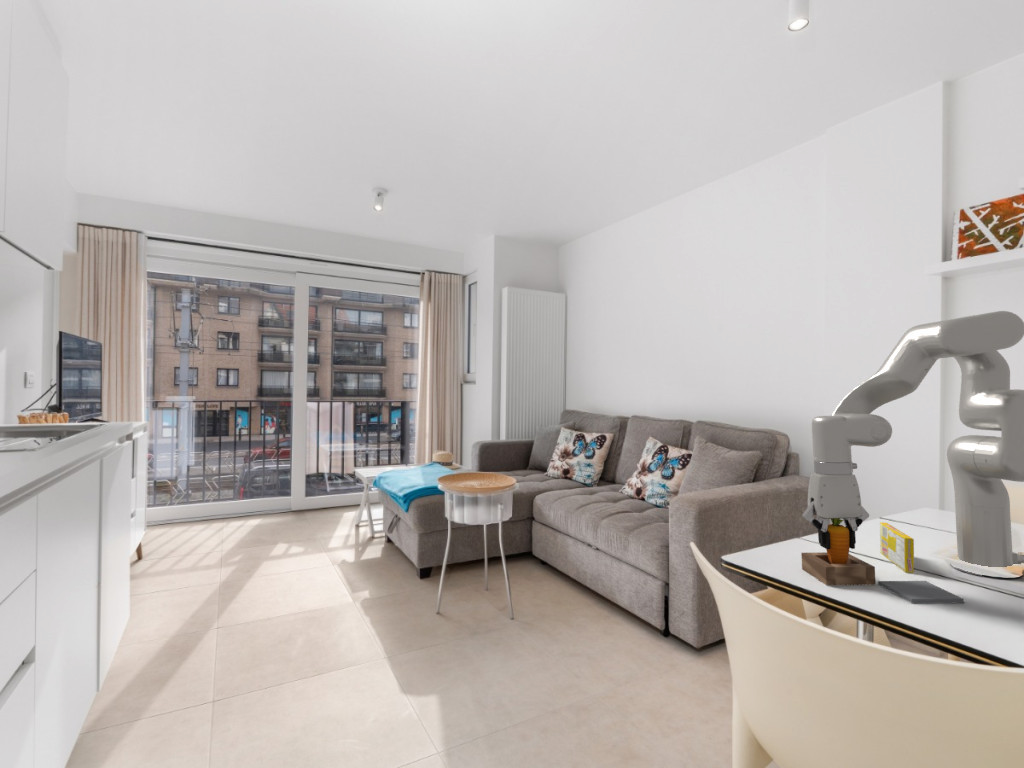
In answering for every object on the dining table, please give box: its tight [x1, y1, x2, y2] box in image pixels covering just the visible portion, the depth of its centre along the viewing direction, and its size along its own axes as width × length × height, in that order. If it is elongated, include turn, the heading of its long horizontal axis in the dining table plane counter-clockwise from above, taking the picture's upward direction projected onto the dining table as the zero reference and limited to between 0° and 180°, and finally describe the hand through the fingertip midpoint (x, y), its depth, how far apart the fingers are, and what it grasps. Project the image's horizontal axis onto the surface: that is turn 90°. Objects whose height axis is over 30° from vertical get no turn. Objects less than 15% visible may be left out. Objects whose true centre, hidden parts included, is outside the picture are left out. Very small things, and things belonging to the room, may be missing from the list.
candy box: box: [879, 521, 915, 574], centre depth 125 cm, size 16×2×8 cm, turn 161°
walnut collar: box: [800, 551, 877, 586], centre depth 116 cm, size 10×10×4 cm
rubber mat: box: [877, 580, 965, 604], centre depth 106 cm, size 10×10×1 cm
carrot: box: [825, 519, 850, 564], centre depth 117 cm, size 5×5×15 cm
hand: (837, 546), depth 117 cm, fingers closed on carrot, 4 cm apart
